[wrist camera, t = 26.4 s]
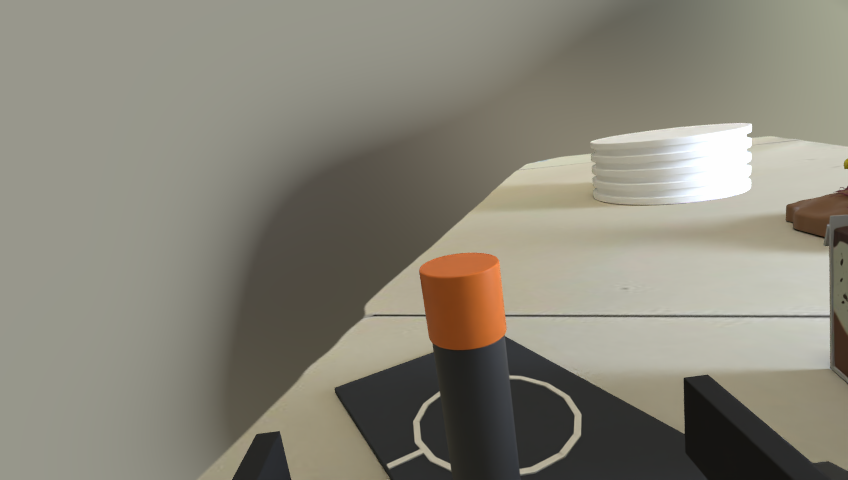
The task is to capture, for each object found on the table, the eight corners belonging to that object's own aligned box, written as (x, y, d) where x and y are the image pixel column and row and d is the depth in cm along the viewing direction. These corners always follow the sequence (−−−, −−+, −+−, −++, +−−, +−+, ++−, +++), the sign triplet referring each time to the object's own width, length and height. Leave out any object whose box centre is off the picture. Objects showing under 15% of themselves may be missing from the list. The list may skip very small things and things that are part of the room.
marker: (483, 577, 20) (442, 282, 17) (446, 525, 23) (406, 265, 20) (543, 540, 21) (515, 261, 18) (501, 495, 24) (471, 248, 21)
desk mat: (498, 647, 17) (497, 637, 17) (335, 392, 37) (334, 386, 37) (748, 475, 24) (748, 466, 23) (494, 334, 43) (494, 329, 43)
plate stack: (585, 188, 112) (582, 139, 110) (715, 174, 106) (715, 122, 104) (606, 211, 86) (602, 147, 83) (781, 193, 80) (783, 124, 77)
